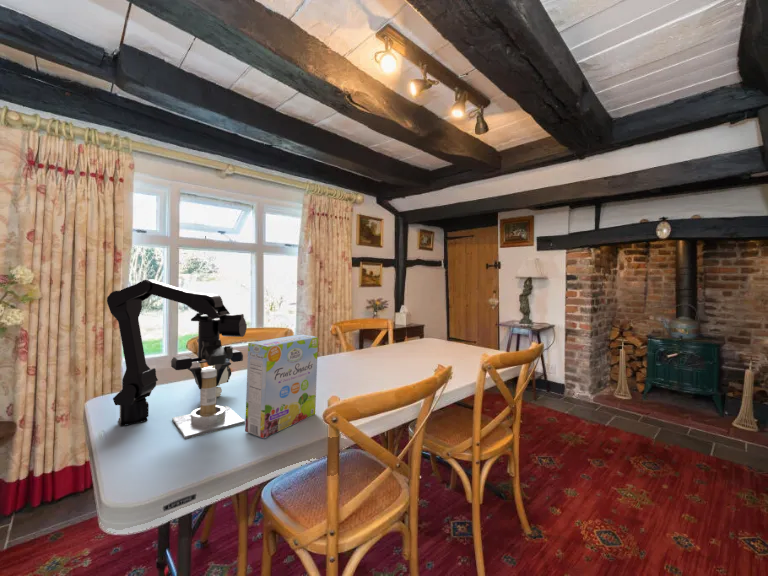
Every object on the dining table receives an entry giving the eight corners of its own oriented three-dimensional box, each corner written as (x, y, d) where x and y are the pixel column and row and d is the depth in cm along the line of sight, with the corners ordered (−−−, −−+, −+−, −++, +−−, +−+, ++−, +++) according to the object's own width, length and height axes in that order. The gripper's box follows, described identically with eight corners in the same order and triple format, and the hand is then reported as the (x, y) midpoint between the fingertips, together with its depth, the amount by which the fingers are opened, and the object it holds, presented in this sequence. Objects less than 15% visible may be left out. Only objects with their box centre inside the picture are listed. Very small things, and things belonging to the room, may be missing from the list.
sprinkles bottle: (215, 410, 108) (216, 367, 108) (217, 415, 104) (217, 370, 104) (199, 412, 106) (199, 369, 106) (200, 418, 102) (200, 372, 102)
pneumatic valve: (194, 400, 123) (194, 366, 123) (223, 391, 133) (223, 360, 133) (204, 403, 121) (204, 369, 120) (233, 393, 131) (233, 362, 131)
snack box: (265, 440, 94) (266, 346, 93) (243, 433, 98) (244, 342, 98) (318, 414, 113) (319, 335, 112) (297, 409, 117) (298, 333, 116)
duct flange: (185, 438, 94) (185, 426, 94) (172, 420, 106) (172, 409, 106) (244, 423, 105) (245, 412, 105) (227, 408, 117) (227, 398, 117)
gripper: (182, 343, 92) (181, 401, 93) (250, 336, 105) (250, 387, 106) (170, 337, 100) (170, 391, 101) (236, 332, 113) (235, 379, 114)
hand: (208, 387), depth 105 cm, fingers closed on sprinkles bottle, 4 cm apart
